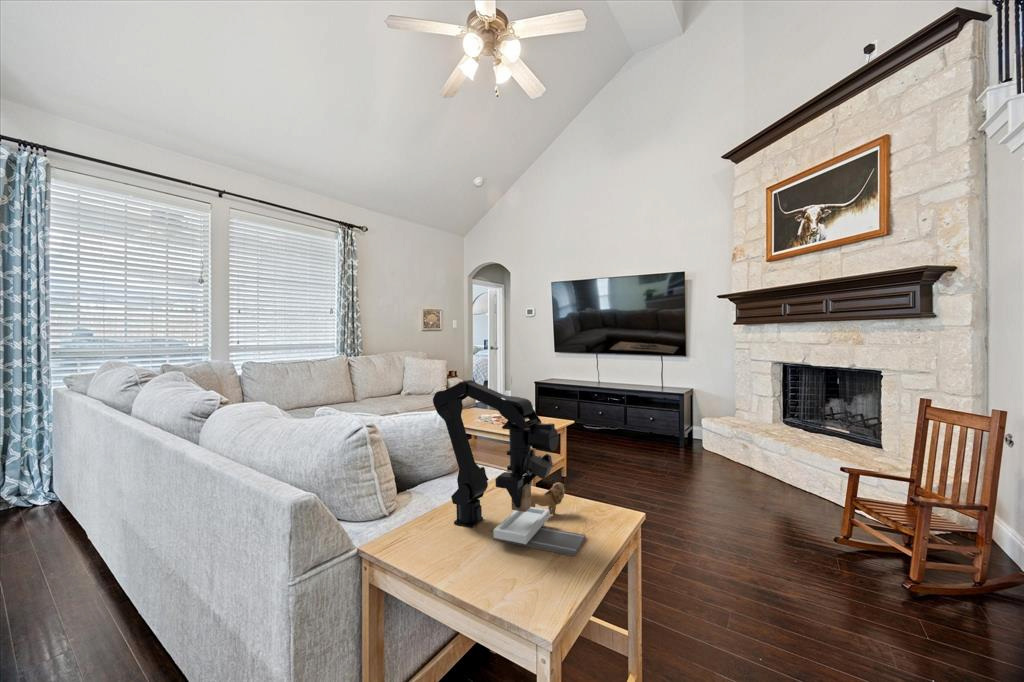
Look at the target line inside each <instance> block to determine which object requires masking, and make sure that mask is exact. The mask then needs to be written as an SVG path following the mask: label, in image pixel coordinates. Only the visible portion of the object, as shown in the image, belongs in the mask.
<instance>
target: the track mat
mask: <svg viewBox="0 0 1024 682" xmlns="http://www.w3.org/2000/svg"><path fill="white" fill-rule="evenodd" d="M586 538H587V536H586V534H582V533H577V532H570V531H566V530H559V529H553V528H550V527H544V526H543V527H541V528H540V529H539V530H538V531H537V532H536V533H535V535H534V536H533V537H532V539H531V541H530V542H529V543H527V544H522V543H517V542H513V541H508V540H503V539H498V538H494V537H493V540H495V541H498V542H504V543H509V544H512V545H513V544H514V545H518V546H524V547H528V548H533V549H538V550H542V551H548V552H553V553H556V554H557V553H558V554H561V555H567V556H570V557H571V556H572V557H576V555H577V553H578V552H579V550H580V549H581V547H582V545H583V543H584V541H585V540H586Z"/></svg>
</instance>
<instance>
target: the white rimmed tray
mask: <svg viewBox="0 0 1024 682" xmlns="http://www.w3.org/2000/svg"><path fill="white" fill-rule="evenodd" d="M548 509H549V508H548ZM548 509H546V508H541V507H536V506H535V507H530V508H529V509H528V510H527V511H526V512H522V511H516V510H513V511H512V512H511V513H510V514H509V515H508V516H507V517H506V518H505V519H504V520H503V521H501V522H500V524H498V525H497V526H496V527H495V528H494V529H493V539H494V538H498V539H503V540H508V541H513V542H517V543H522V544H527V543H529V542H530V541H531V539H532V537H533V536H534V535H535V533H536V532H537V531H538V530H539V529H540V528H541V527H544V526H545V523H546V522H547V521H548V520H549V519H550V517H551V516H550V514H551V513H550V510H548Z"/></svg>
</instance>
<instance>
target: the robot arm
mask: <svg viewBox="0 0 1024 682" xmlns="http://www.w3.org/2000/svg"><path fill="white" fill-rule="evenodd" d="M467 398H470V399H473V400H475V401H478V403H481V404H484V405H485V406H488V407H490V408H493V409H494V410H496V411H498V412H499V414H500V415H501V416H502V417H503V418H504V419H506V420H507V421H506V423H505V424H503V425H502V426H501V429H502V430H508V434H509V449H508V450H506V456H509V465H507V467H506V470H507V471H504V472H503V473H500V474H499V475H498V476H496V477H495V487H496V488H500V489H506V491H507V493H508V494H509V497H510V498H511V501H512V500H513V502H514V504H515V506H516V507H517V508H520V505H521V496H522V488H523V487H524V486H525V485H526V484H531V485H532V482H533V480H535V479H536V477H538V478H539V479H542V480H545V479H546V478H547V477H549V476H550V472H551V470H552V468H554V462H553V461H552V456H551V455H550V454H549V453H545V454H544V455H543V456H541V455H539V456H537V455H535V450H534V449H536V450H542V451H551V452H554V451H556V450H557V449H558V445H559V440H560V439H559V438H560V435H559V434H558V431H557V428H555V425H556V424H555V423H543V422H542V420H541V419H540V417H539V415H538V414H537V412H536V411H535V409H534V406H533V404H532V402H531V400H529V399H528V398H524V397H520V396H519V397H518V396H511V395H505V394H503V393H500V392H498V391H497V390H493V389H491V388H489V387H487V386H484V385H482V384H480V383H477V382H476V381H474V380H471V379H468V380H462V381H460V382H458V383H457V384H455V385H452V386H450V387H449V388H446V389H444V390H438V391H437V392H435V393H434V396H433V398H432V403H433V407H434V408H435V410H436V414H437V415H439V417H440V418H441V419H443V421H444V422H445V423H444V424H445V425H446V429H447V432H448V435H449V440H450V442H451V446H452V448H453V449H452V451H453V452H454V455H455V456H454V457H455V459H456V460H455V461H456V463H457V467H458V473H457V479H456V480H457V481H456V482H457V489H456V490H455V492H453V494H452V495H451V496H450V497H451V501H452V504H454V505H456V506H455V507H456V519H455V520H454V521H453V525H459V526H464V527H469V528H474V527H475V526H476V525H478V524H479V523H480V522H481V521H482V520H483V519H484V516H483V515H482V514H483V512H482V510H483V509H482V508H483V507H482V505H481V498H483V497H484V495H485V492H486V490H487V488H488V486H489V483H488V481H489V478H488V476H487V473H486V468H485V467H484V466H481V467H480V466H479V465H478V464H477V463H476V461H475V458H474V454H473V451H472V448H471V443H470V441H469V439H468V434H467V430H466V428H465V425H464V421H463V418H462V413H463V407H464V405H463V401H464V400H465V399H467Z"/></svg>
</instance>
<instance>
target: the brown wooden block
mask: <svg viewBox="0 0 1024 682" xmlns="http://www.w3.org/2000/svg"><path fill="white" fill-rule="evenodd" d="M531 493H532V483H531V484H526V485H525V486H524V487H523V488H522V496H521V505H520V508H517V507H516V506H515V504H514V502H513V500H512V499H511V511H515V510H516V511H522V512H526V511H527V510H528V509H529V508H530V507H531Z"/></svg>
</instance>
